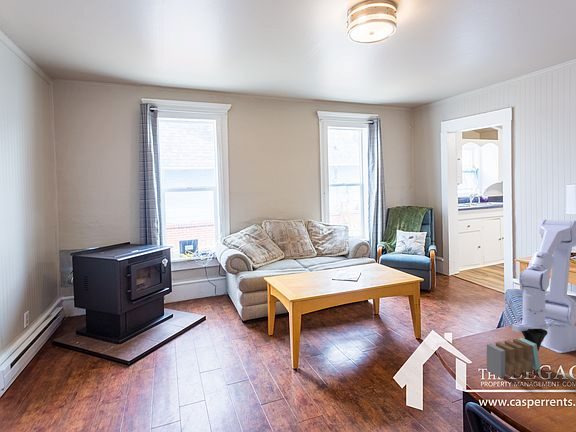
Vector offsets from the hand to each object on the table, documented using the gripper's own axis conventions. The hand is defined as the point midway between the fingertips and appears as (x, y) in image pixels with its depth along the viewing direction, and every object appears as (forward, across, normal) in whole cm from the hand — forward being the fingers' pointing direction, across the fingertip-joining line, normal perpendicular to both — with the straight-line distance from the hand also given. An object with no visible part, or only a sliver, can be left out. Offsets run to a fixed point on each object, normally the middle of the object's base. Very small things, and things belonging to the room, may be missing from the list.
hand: (533, 351), depth 106 cm
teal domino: (+4, -1, 0) cm, 4 cm away
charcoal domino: (+4, -14, 0) cm, 15 cm away
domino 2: (+4, -8, 0) cm, 9 cm away
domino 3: (+4, -4, 0) cm, 6 cm away
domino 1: (+4, -11, 0) cm, 12 cm away
